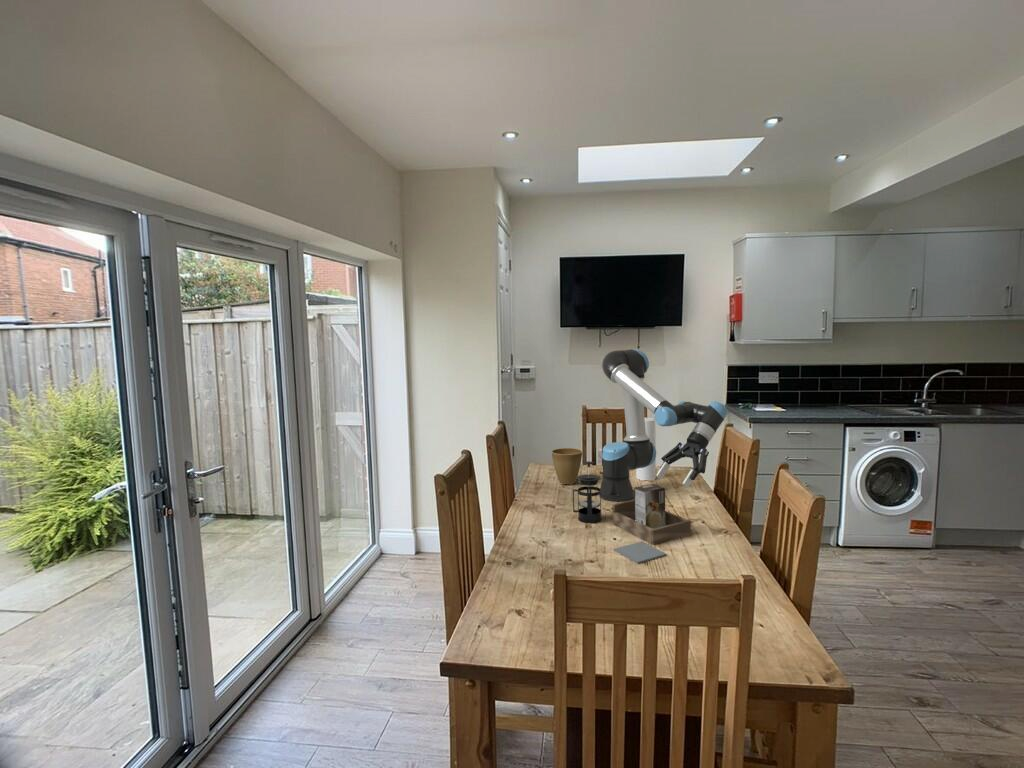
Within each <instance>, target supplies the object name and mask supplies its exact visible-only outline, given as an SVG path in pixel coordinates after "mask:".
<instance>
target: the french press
mask: <svg viewBox="0 0 1024 768" xmlns="http://www.w3.org/2000/svg"><path fill="white" fill-rule="evenodd" d="M583 464H584V465H587V468H588V469H587V470H588V473H587V474H580V475H578V476H577V480H578V484H579V485H581V487H578V489H577V488H576V489H572V505H573V507H572V509H573V513H578V515H577V521H579V522H580V521H581V522H580V523H584V524H597V522H598V523H600V522H602V519H603V518H602V498H601V489H600V488H601V487H598V486H597V487H596V485H598V483H599V481H600V480H601V479H602V477H601V476H600V475H597V474H590V467H591V465H594V464H595V462H593V461H588V460H587V461H584V462H583ZM584 490H585V491H586V492H582V491H584ZM592 490H593V491H596V492H592ZM575 492H577V507H578V508H577V509H575ZM579 495H580V496H582V497H586V499H584V500H581V501H579V500H580V496H579ZM599 495H600V496H599ZM597 496H599V498H600V499H599V501H598V500H594V499H592V498H593V497H597ZM580 507H581V508H580ZM598 507H600V508H598Z"/></svg>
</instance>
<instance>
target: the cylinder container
mask: <svg viewBox="0 0 1024 768" xmlns="http://www.w3.org/2000/svg"><path fill="white" fill-rule="evenodd" d="M644 418H645V430H646V435H647V436H648V437H649V438H650V442H652V443H653V446H655V448H656V420H655V417H654V418H652V417H644ZM656 449H657V448H656ZM656 459H657V458H655V460H654V462H653V463H652V464H651V465H649V466H646V467H644V468H638V469H635V471H636V472H635V474H636V475H635V477H636V479H637V480H639V479H640V481H644V480H650V481H653V480H652V479H655V478H657V476H656V475H657V471H656V469H657V467H656V466H657V463H656ZM655 480H656V479H655Z"/></svg>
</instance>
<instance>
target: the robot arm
mask: <svg viewBox="0 0 1024 768" xmlns="http://www.w3.org/2000/svg"><path fill="white" fill-rule="evenodd" d="M649 361H650V360H649V358H648V356H647V355H646V353H644V352H643V351H642V350H640V349H633V348H631V349H622V350H621V349H619V350H612V351H609V352H608V353H607V354H605V356H604V358H603V359H602V365H601V367H602V371H603V373H604V375H605V376H606V377H607V378H608V379H609V380H610V381H611V382H612V383H614V384H618V385H619V386H620V387H622V394H623V395H622V396H623V406H624V418H625V420H624V421H625V430H626V431H625V432H626V435H625V437H624V438H623V441H617V442H616V441H614V442H609V443H607V444H605V445H604V446H603V448H602V454H601V458H602V481H601V483H600V487H599V488H600V489H601V500H605V501H609V502H625V501H630V500H633V499H634V498H635V490H634V489H633V486H632V484H631V483H632V482H631V480H630V472H631V471H633V470H636V469H638V468H644V467H646V466H649V465H651V464H652V463H653V462H654V460H655V458H656V457H657V448H655V446H653V443H652V442H650V438H649V437H648V436H647V435H646V430H645V418H646V417H645V409H644V408H646V409H647V410H649V412H651V413H652V414H653V415H654V419H655V424H656V425H659V426H661V427H672V426H676V425H677V426H678V425H681V424H686V423H695V424H696V425H694V427H693V429H692V431H691V432H690V434H689V435H688V437H687V438H686V443H684V444H683V443H682V442H677V444H676V445H675V446H674V447H673V448H672V449H670V450H669V451H668V452H667V453H666V454H664V455H663V456H662V457H661V458H660V459H661V460H662V461H663V463H662V464H661V465H660V467H659V470H658V472H656V478H658V479H659V480H662V479H663V478H664V476H665V474H666V473H667V472H668V470H669V469H670V468H671V464H674V463H675V462H677V461H679V460H680V459H682V458H683V459H684V458H690V459H692V465H693V466H692V467H693V468H692V469H690V471H689V472H688V474H687V476H686V477H685V478H684V480H683V481H682V485H683V486H684V487H685V488H687V489H688V488H690V486H691V484H692V483H693V481H695V480H696V478H697V477H698V475H699V474H705V473H706V468H707V459H708V456H709V453H710V452H709V450H708V449H707V447H708V445H709V443H710V442H711V440H712V439H713V437H714V435H716V433H717V430H718V429H719V428H720V427H721V425H722V424H723V422H724V421H725V419H726V417H727V415H728V413H729V410H728V408H727V407H726V405H724V404H723V403H721V402H719V401H711V402H710V403H709V404H708V405H703V404H699V403H694V402H691V401H685V400H684V401H679V403H677V404H675V405H674V404H672V403H671V402H669V401H668V400H667V399H666V398H665V397H663V396H662V395H661V394H660V393H659V392H658V391H656V390H655V389H654V388H652V387H651V386H650V385H649V384H647V383H646V382H645V381H644V380H645V378H646V376H645V374H646V373H647V371H648V369H649V366H650V362H649ZM656 459H657V458H656ZM598 496H599V497H600V495H598Z"/></svg>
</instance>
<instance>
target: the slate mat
mask: <svg viewBox="0 0 1024 768" xmlns="http://www.w3.org/2000/svg"><path fill="white" fill-rule="evenodd" d="M613 551H615V552H616V553H618V554H619V553H620V555H621V554H622V555H621V556H623V557H625V558H626V557H627V558H626V559H628V558H629V560H630V561H632V562H633V561H634V563H635V564H636V565H638V564H642V563H646V562H648V561H651V560H655V559H659V558H662V557H667V553H666V552H664V551H662V550H660V549H658V548H656V547H654V546H652V545H650V544H647V542H645V541H643V540H641V541H638V542H635V543H630V544H626V545H623V546H619V547H616V548H614V549H613Z"/></svg>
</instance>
